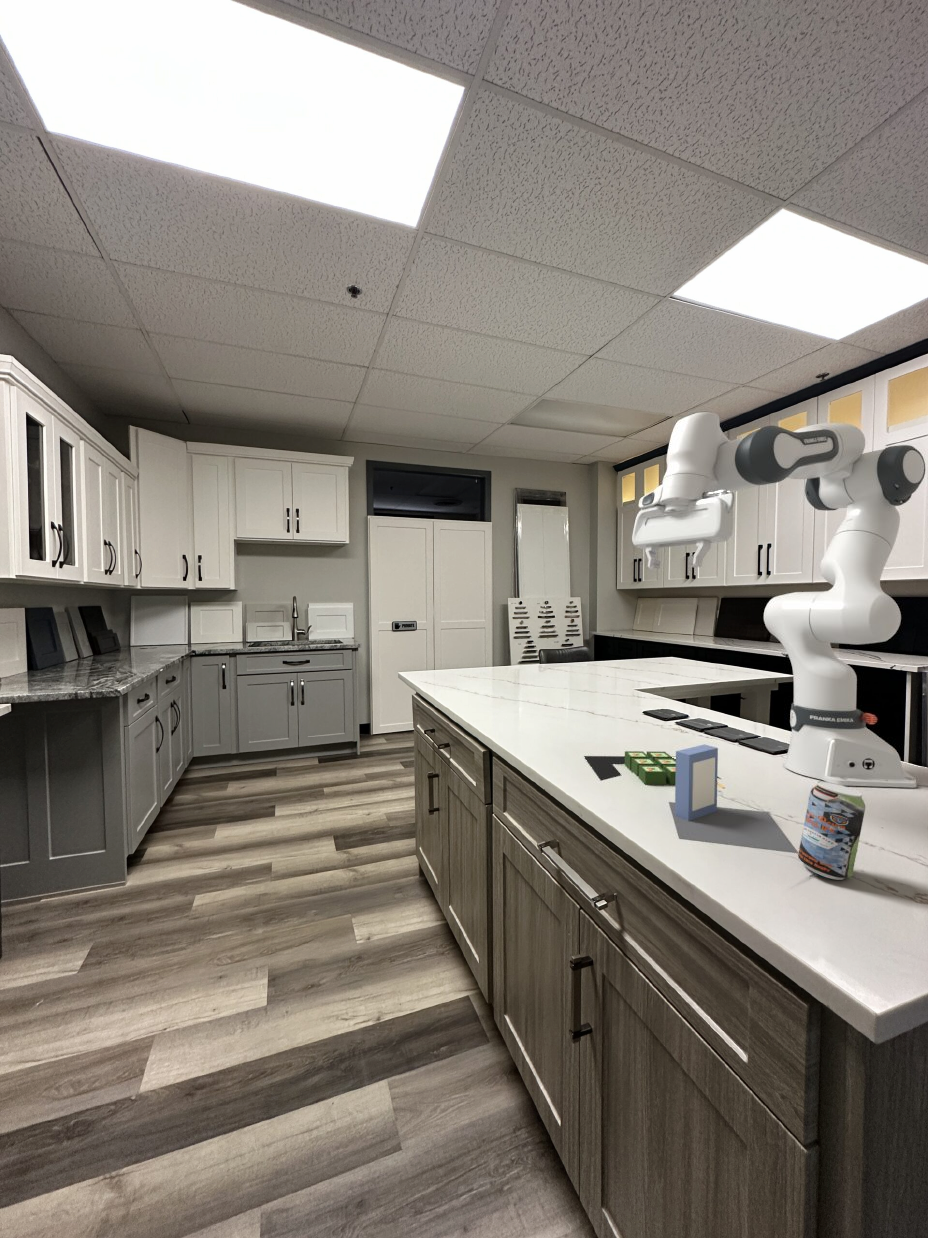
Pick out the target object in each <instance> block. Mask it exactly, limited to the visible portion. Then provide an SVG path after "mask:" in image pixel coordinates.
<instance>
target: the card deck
mask: <svg viewBox="0 0 928 1238" xmlns="http://www.w3.org/2000/svg"><path fill="white" fill-rule="evenodd" d="M718 751H719V748H718V747H715V746H713V745H708V744H702V745H696V746H693V747H688V748H684V749H680V750H677V751H675V757H676V781H675V785H674V786H675V788H674V789H675V793H674V794H675V795H674V796H675V797H674V803H675V816H677V817H680V818H682V819H684V820H687V821H690V820H693V819H695V818H698V817H701V816H704V815H706V814H709V813H712V812H715V811H717V807H718V784H717V782H718V778H717V776H718V762H719V758H718V757H719V756H718V755H719V753H718Z"/></svg>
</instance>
